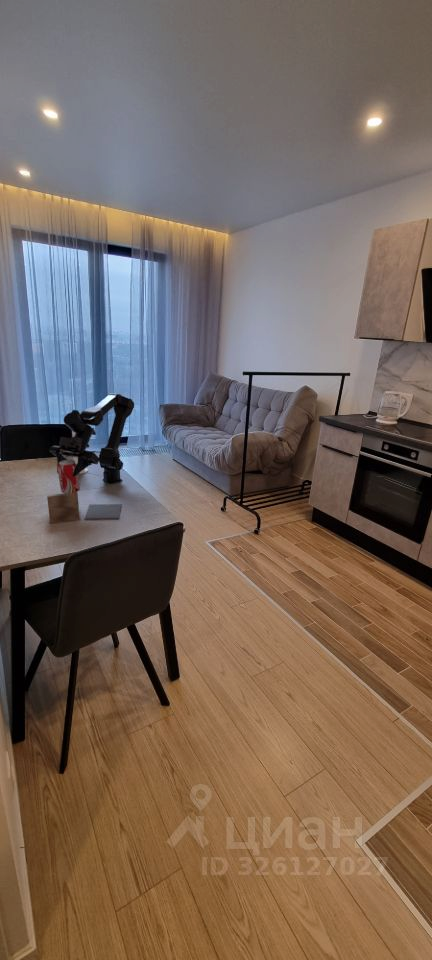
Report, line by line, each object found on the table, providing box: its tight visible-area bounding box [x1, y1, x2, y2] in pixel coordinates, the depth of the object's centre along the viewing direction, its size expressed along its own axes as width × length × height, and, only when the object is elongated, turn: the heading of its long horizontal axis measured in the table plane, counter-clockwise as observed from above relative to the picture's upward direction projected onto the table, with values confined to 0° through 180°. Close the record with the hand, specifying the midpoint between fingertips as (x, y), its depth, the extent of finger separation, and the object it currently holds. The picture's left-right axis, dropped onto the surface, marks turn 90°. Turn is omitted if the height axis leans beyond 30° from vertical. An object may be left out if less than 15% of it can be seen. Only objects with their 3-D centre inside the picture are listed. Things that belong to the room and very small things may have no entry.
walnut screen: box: [46, 492, 81, 524], centre depth 139 cm, size 10×4×9 cm, turn 112°
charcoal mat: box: [84, 503, 122, 521], centre depth 147 cm, size 12×12×1 cm
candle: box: [71, 430, 89, 475], centre depth 183 cm, size 7×7×25 cm
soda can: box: [57, 459, 81, 494], centre depth 148 cm, size 7×7×12 cm
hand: (65, 474), depth 146 cm, fingers closed on soda can, 7 cm apart
